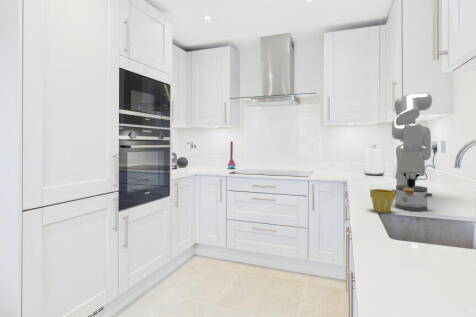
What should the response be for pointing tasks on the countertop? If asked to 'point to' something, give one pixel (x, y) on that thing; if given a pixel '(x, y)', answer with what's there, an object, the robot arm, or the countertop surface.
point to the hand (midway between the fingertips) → (411, 187)
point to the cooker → (411, 200)
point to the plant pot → (382, 199)
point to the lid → (411, 188)
